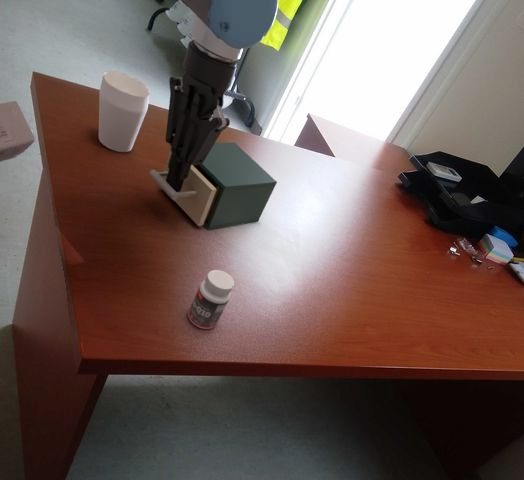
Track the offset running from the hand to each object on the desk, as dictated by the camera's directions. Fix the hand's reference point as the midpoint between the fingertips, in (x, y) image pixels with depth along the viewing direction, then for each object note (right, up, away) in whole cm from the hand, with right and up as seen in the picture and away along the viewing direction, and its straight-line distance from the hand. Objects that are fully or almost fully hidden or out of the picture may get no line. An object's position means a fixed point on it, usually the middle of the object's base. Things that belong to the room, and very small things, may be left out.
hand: (172, 189), depth 82 cm
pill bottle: (+7, -24, -12) cm, 28 cm away
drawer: (+3, 0, +7) cm, 8 cm away
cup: (-14, +13, +11) cm, 23 cm away
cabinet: (+6, +1, +12) cm, 13 cm away
